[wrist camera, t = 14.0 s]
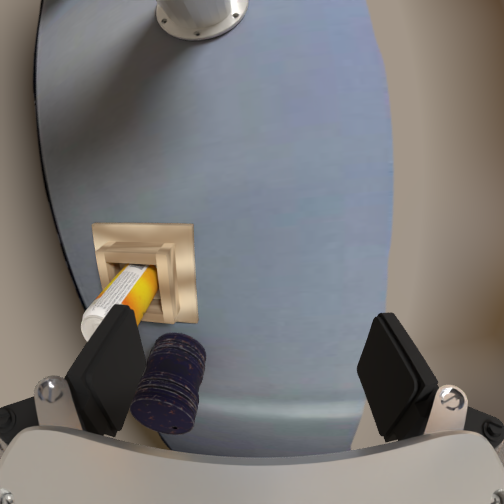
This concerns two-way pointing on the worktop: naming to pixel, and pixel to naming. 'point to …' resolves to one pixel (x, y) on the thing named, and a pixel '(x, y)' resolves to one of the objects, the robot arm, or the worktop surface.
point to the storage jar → (170, 385)
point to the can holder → (153, 253)
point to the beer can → (123, 295)
